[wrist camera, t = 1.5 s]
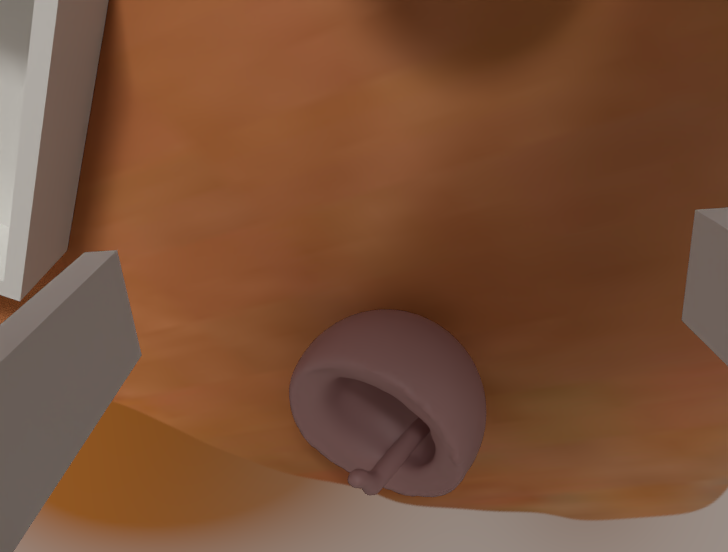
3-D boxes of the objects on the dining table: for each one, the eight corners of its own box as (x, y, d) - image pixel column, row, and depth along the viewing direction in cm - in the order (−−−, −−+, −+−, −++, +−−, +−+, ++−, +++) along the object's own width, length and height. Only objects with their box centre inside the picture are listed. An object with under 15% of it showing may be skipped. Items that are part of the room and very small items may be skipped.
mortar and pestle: (270, 309, 43) (231, 432, 34) (437, 247, 40) (447, 363, 31) (347, 431, 49) (332, 568, 39) (500, 385, 46) (525, 521, 36)
